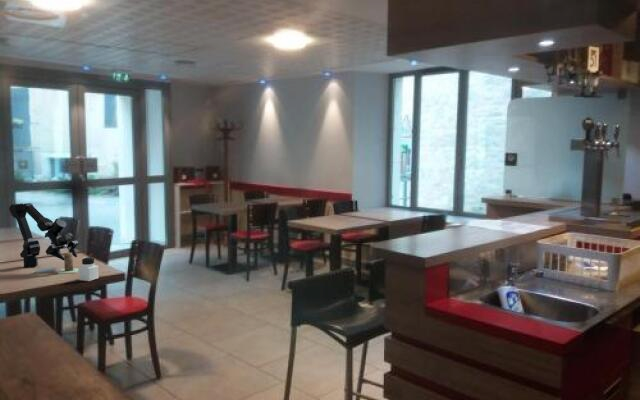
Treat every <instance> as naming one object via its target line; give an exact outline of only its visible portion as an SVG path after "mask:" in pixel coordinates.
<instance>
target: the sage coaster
mask: <svg viewBox="0 0 640 400" xmlns="http://www.w3.org/2000/svg"><path fill="white" fill-rule="evenodd" d="M78 268H79V267H77V268H76V267H75V268H74V267H73V271H65V268H61V269H60V270H59V271H58V272H57V274H58V275H60V274H61V275H62V274H64V275H65V274H77V273H79V270H78Z"/></svg>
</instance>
